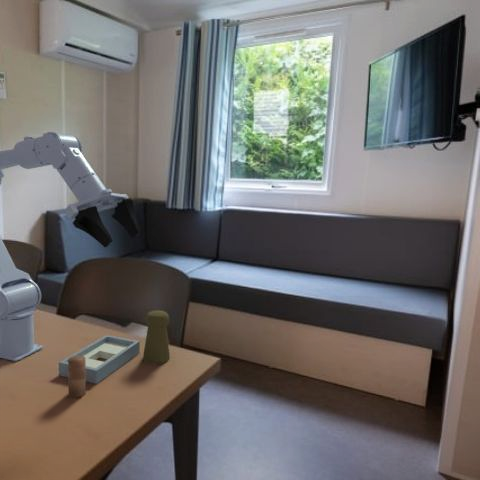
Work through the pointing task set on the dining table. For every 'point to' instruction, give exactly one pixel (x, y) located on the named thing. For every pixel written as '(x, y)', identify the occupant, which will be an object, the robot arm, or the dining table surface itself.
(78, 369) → the peg
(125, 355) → the box
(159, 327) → the cork
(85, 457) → the dining table surface
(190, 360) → the dining table surface
